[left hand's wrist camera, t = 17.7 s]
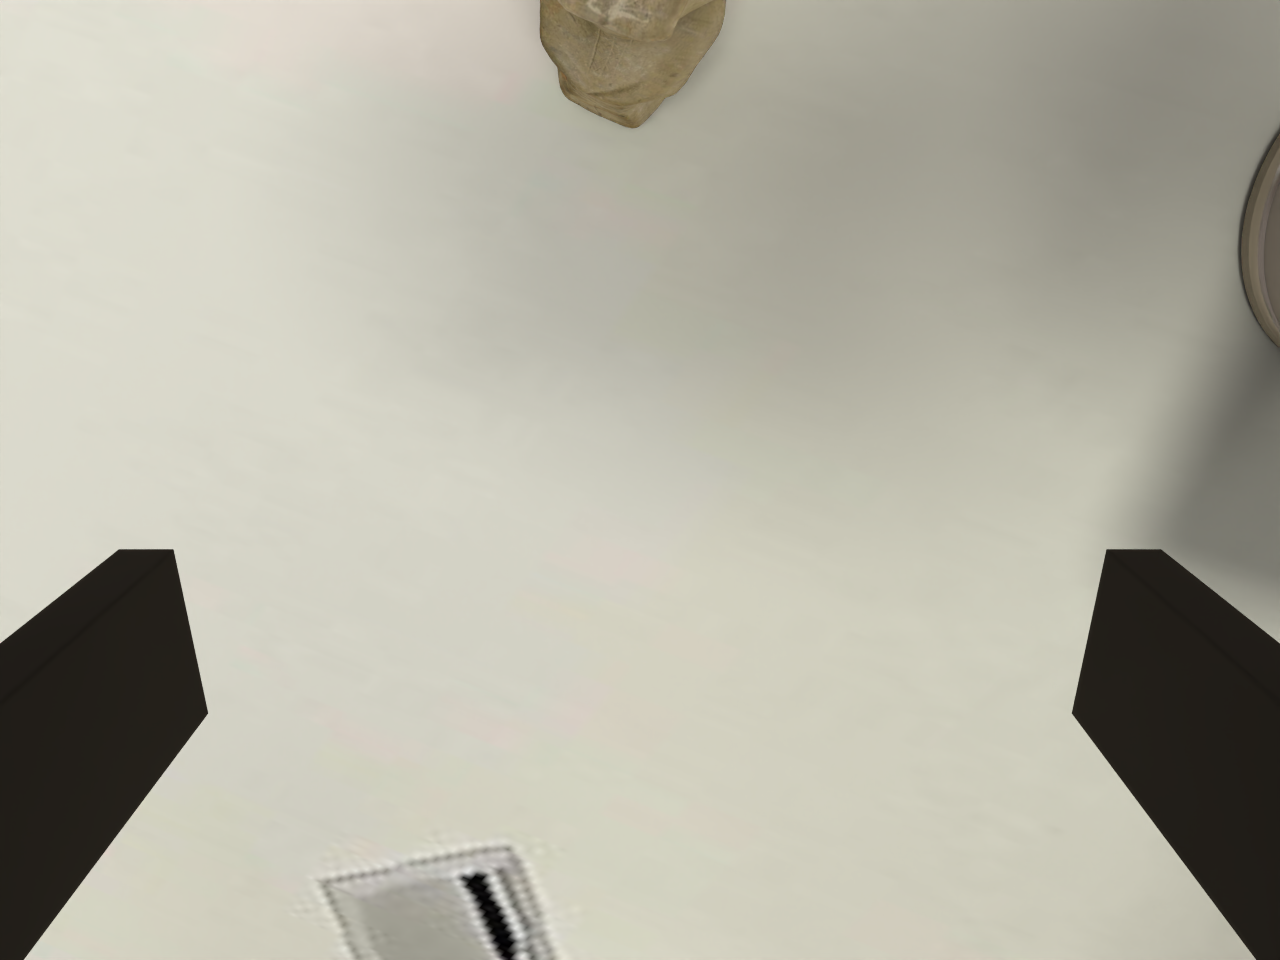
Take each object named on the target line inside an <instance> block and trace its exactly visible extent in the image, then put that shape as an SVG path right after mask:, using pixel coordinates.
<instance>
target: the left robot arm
mask: <svg viewBox="0 0 1280 960" xmlns="http://www.w3.org/2000/svg"><path fill="white" fill-rule="evenodd" d="M1241 261H1242V273H1243V279H1244V284H1245V289H1246V293H1247V296H1248V299H1249V302H1250V305H1251V307H1252V309H1253V312H1254V314H1255V316H1256V318H1257V320H1258V322H1259V323H1260V325H1261V327H1262V328H1263V330H1264V331H1265V332H1266V334H1267V335H1268V336H1269V338H1270V339H1271V340H1272V341H1273V342H1274V343H1275V344H1276V345H1277V346H1278V347H1279V348H1280V134H1279V135H1278V137H1277V139H1276V140H1275V142H1274V144H1273V145H1272V147H1271V148H1270V150H1269V152H1268V154H1267V156H1266V158H1265V160H1264V162H1263V164H1262V166H1261V168H1260V171H1259V173H1258V176H1257V178H1256V181H1255V183H1254V186H1253V189H1252V192H1251V195H1250V198H1249V201H1248V205H1247V210H1246V214H1245V219H1244V225H1243V232H1242V245H1241ZM207 714H208V710H207V706H206V701H205V696H204V691H203V687H202V682H201V677H200V673H199V668H198V663H197V658H196V654H195V649H194V644H193V640H192V635H191V630H190V625H189V621H188V616H187V611H186V606H185V602H184V597H183V592H182V588H181V583H180V578H179V573H178V569H177V564H176V559H175V554H174V550H173V549H119V550H118V551H116V552H115V553H114V554H113V555H111V556H110V557H109V558H108V559H106V560H105V561H104V562H102V563H101V564H100V565H99V566H97V567H96V568H95V569H94V570H92V571H91V572H90V573H89V574H87V575H86V576H85V577H84V578H82V579H81V580H80V581H79V582H77V583H76V584H75V585H73V586H72V587H71V588H70V589H68V590H67V591H66V592H65V593H63V594H62V595H61V596H60V597H58V598H57V599H56V600H55V601H53V602H52V603H51V604H49V605H48V606H47V607H46V608H44V609H43V610H42V611H41V612H39V613H38V614H37V615H36V616H34V617H33V618H32V619H31V620H29V621H28V622H27V623H26V624H24V625H23V626H22V627H20V628H19V629H18V630H17V631H15V632H14V633H13V634H12V635H10V636H9V637H8V638H7V639H5V640H4V641H3V642H2V643H0V960H24V959H25V957H26V956H27V955H28V953H29V952H30V951H31V949H32V948H33V947H34V945H35V944H36V943H37V941H38V940H39V939H40V937H41V936H42V935H43V933H44V932H45V931H46V929H47V928H48V927H49V925H50V924H51V923H52V921H53V920H54V919H55V917H56V916H57V915H58V913H59V912H60V911H61V909H62V908H63V907H64V905H65V904H66V903H67V901H68V900H69V899H70V897H71V896H72V895H73V893H74V892H75V891H76V889H77V888H78V887H79V885H80V884H81V883H82V881H83V880H84V879H85V877H86V876H87V874H88V873H89V872H90V870H91V869H92V868H93V866H94V865H95V864H96V862H97V861H98V860H99V858H100V857H101V856H102V854H103V853H104V852H105V850H106V849H107V848H108V846H109V845H110V844H111V842H112V841H113V840H114V838H115V837H116V836H117V834H118V833H119V832H120V830H121V829H122V828H123V826H124V825H125V824H126V822H127V821H128V820H129V818H130V817H131V816H132V814H133V813H134V812H135V810H136V809H137V808H138V806H139V805H140V804H141V802H142V801H143V800H144V798H145V797H146V796H147V794H148V793H149V792H150V790H151V789H152V788H153V786H154V785H155V784H156V782H157V781H158V780H159V778H160V777H161V776H162V774H163V773H164V772H165V770H166V769H167V768H168V766H169V765H170V764H171V762H172V761H173V760H174V758H175V757H176V756H177V754H178V753H179V752H180V750H181V749H182V748H183V746H184V745H185V744H186V742H187V741H188V740H189V738H190V737H191V736H192V734H193V733H194V732H195V730H196V729H197V728H198V726H199V725H200V724H201V722H202V721H203V720H204V718H205V717H206V716H207ZM1072 714H1073V716H1074V717H1075V718H1076V720H1077V721H1078V722H1079V724H1080V725H1081V726H1082V728H1083V729H1084V730H1085V732H1086V733H1087V734H1088V736H1089V737H1090V738H1091V740H1092V741H1093V742H1094V744H1095V745H1096V746H1097V748H1098V749H1099V750H1100V752H1101V753H1102V754H1103V756H1104V757H1105V758H1106V760H1107V761H1108V762H1109V764H1110V765H1111V766H1112V768H1113V769H1114V770H1115V772H1116V773H1117V774H1118V776H1119V777H1120V778H1121V780H1122V781H1123V782H1124V784H1125V785H1126V786H1127V788H1128V789H1129V790H1130V792H1131V793H1132V794H1133V796H1134V797H1135V798H1136V800H1137V801H1138V802H1139V804H1140V805H1141V806H1142V808H1143V809H1144V810H1145V812H1146V813H1147V814H1148V816H1149V817H1150V818H1151V820H1152V821H1153V822H1154V824H1155V825H1156V826H1157V828H1158V829H1159V830H1160V832H1161V833H1162V834H1163V836H1164V837H1165V838H1166V840H1167V841H1168V842H1169V844H1170V845H1171V846H1172V848H1173V849H1174V850H1175V852H1176V853H1177V854H1178V856H1179V857H1180V858H1181V860H1182V861H1183V862H1184V864H1185V865H1186V866H1187V868H1188V869H1189V870H1190V872H1191V873H1192V874H1193V876H1194V877H1195V879H1196V880H1197V881H1198V883H1199V884H1200V885H1201V887H1202V888H1203V889H1204V891H1205V892H1206V893H1207V895H1208V896H1209V897H1210V899H1211V900H1212V901H1213V903H1214V904H1215V905H1216V907H1217V908H1218V909H1219V911H1220V912H1221V913H1222V915H1223V916H1224V917H1225V919H1226V920H1227V921H1228V923H1229V924H1230V925H1231V927H1232V928H1233V929H1234V931H1235V932H1236V933H1237V935H1238V936H1239V937H1240V939H1241V940H1242V941H1243V943H1244V944H1245V945H1246V947H1247V948H1248V949H1249V951H1250V952H1251V953H1252V955H1253V956H1254V957H1255V959H1256V960H1280V643H1278V642H1277V641H1276V640H1275V639H1273V638H1272V637H1271V636H1270V635H1268V634H1267V633H1266V632H1265V631H1263V630H1262V629H1261V628H1260V627H1258V626H1257V625H1256V624H1254V623H1253V622H1252V621H1251V620H1249V619H1248V618H1247V617H1246V616H1244V615H1243V614H1242V613H1241V612H1239V611H1238V610H1237V609H1236V608H1234V607H1233V606H1232V605H1231V604H1229V603H1228V602H1227V601H1225V600H1224V599H1223V598H1222V597H1220V596H1219V595H1218V594H1217V593H1215V592H1214V591H1213V590H1212V589H1210V588H1209V587H1208V586H1207V585H1205V584H1204V583H1203V582H1201V581H1200V580H1199V579H1198V578H1196V577H1195V576H1194V575H1193V574H1191V573H1190V572H1189V571H1188V570H1186V569H1185V568H1184V567H1183V566H1181V565H1180V564H1179V563H1178V562H1176V561H1175V560H1174V559H1172V558H1171V557H1170V556H1169V555H1167V554H1166V553H1165V552H1164V551H1162V550H1161V549H1107V550H1106V554H1105V559H1104V564H1103V569H1102V573H1101V578H1100V583H1099V588H1098V592H1097V597H1096V602H1095V606H1094V611H1093V616H1092V621H1091V625H1090V630H1089V635H1088V640H1087V644H1086V649H1085V654H1084V658H1083V663H1082V668H1081V673H1080V677H1079V682H1078V687H1077V691H1076V696H1075V701H1074V706H1073V710H1072Z"/></svg>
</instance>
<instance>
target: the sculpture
mask: <svg viewBox="0 0 1280 960" xmlns="http://www.w3.org/2000/svg"><path fill="white" fill-rule="evenodd" d="M725 3H726V0H540V38H541V42H542V45H543V47H544V48H545V50H546V52H547V53H548V55H549V57H550V58H551V60H552V61H553V62H554V63H555V65H556V66H557V67H558V75H559V83H560V87H561V90H562V92H563V94H564V95H565V96H566V97H567V98H568V99H569V100H571V101H573V102H574V103H576V104H578V105H580V106H582V107H583V108H585V109H587V110H589V111H591V112H593V113H595V114H597V115H599V116H601V117H604V118H606V119H608V120H611V121H613V122H616V123H618V124H620V125H623V126H625V127H629V128H636V127H639V126H640V125H641V124H642V123H644V122H645V121H646V120H647V119H648V118H649V116H650V115H651V114H652V113H653V112H654V111H655V110H656V109H657V108H658V107H659V105H660V104H661V103H662V101H663V100H664V99H665V98H666V97H669V96H672V95H674V94H675V93H677V92H678V91H679V90H680V88H681V87H682V86H683V85H684V84H685V83H686V82H687V80H688V78H689V77H690V75H691V73H692V72H693V70H694V69H695V67H696V65H697V64H698V63H699V61H700V60H701V59H702V57H703V56H704V55H705V53H706V52H707V51H708V49H709V48H710V47H711V45H712V44H713V42H714V41H715V39H716V38H717V36H718V34H719V32H720V30H721V27H722V24H723V20H724V15H725Z"/></svg>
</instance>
